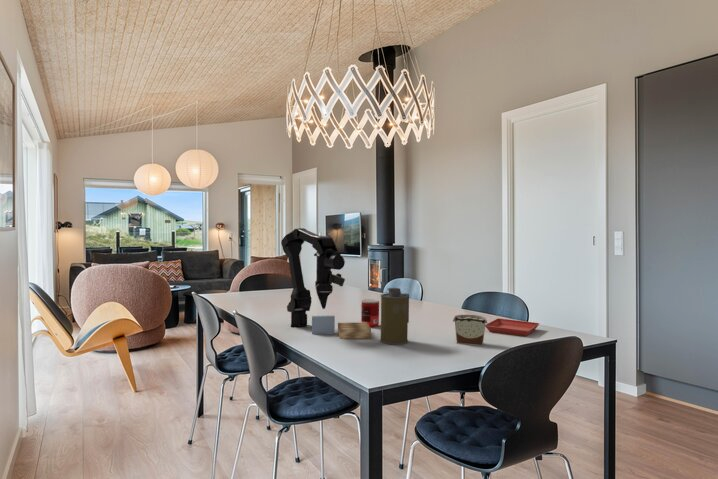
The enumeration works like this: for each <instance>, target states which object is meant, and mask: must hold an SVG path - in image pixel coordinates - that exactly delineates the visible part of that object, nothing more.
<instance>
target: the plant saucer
mask: <svg viewBox="0 0 718 479" xmlns="http://www.w3.org/2000/svg"><path fill="white" fill-rule="evenodd" d="M539 325H540V323H539V322H534V321H533V322H532V321H523V320H514V319H507V318H496V319H494V320H492V321H489V322H487V323H486V324H485V329H487V330H488V331H489V332H490V333H495V334H496V333H497V334H503V333H504V334H505V335H511V336H520V337H527V336H528V335H530V334H532V332H534V331H535V330H536V329H537V327H538V326H539Z"/></svg>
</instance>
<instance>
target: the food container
mask: <svg viewBox="0 0 718 479" xmlns="http://www.w3.org/2000/svg"><path fill="white" fill-rule="evenodd" d="M452 322H454V326H455V336H456V337H455V341H456V345H457V344H458V345H459V344H460V345H471V346H482V347H483V346H484V339H485V332H486V327H485V325H486V324H488V320H487V318H486V317H485V316H482V315H478V314H477V315H476V314H459V315H458V314H456V315H454V317H453V320H452Z"/></svg>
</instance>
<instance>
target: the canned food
mask: <svg viewBox="0 0 718 479" xmlns="http://www.w3.org/2000/svg"><path fill="white" fill-rule="evenodd" d="M360 306H361V307H360V308H361V312H360V313H361V319H360V320H361V322H367V324H369V326H370V328H376V327H379V324H380V300H379V299H375V298H371V299H370V298H365V299H364V298H363V299H362V300H361V304H360Z"/></svg>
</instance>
